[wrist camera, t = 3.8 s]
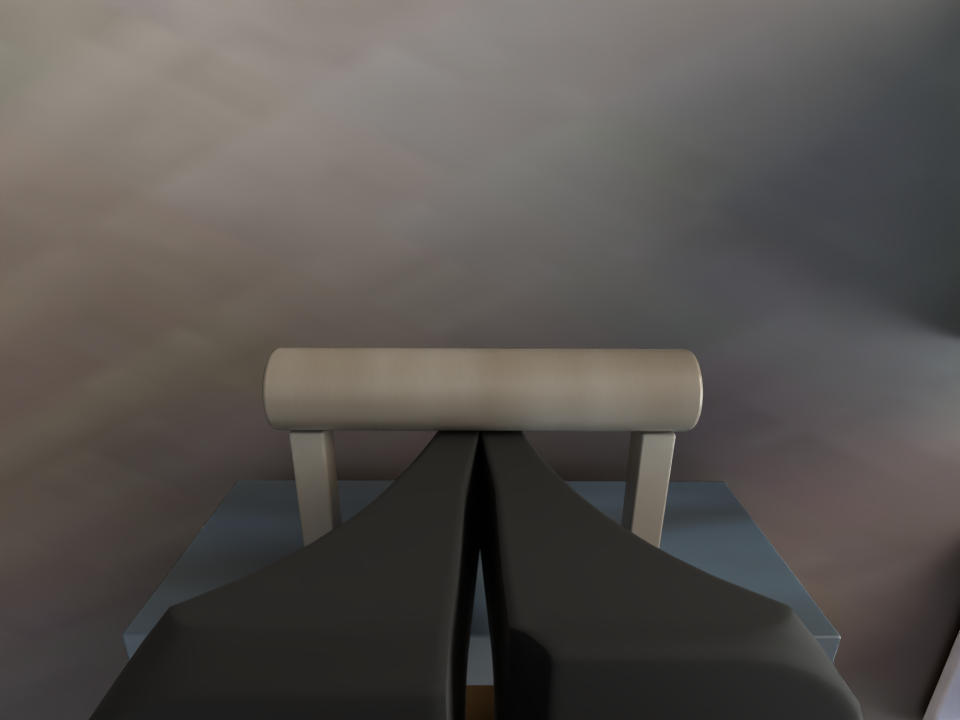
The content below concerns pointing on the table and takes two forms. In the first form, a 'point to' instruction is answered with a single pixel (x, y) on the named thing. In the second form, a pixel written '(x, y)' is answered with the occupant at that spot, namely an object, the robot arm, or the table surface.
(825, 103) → the table surface
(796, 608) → the drawer
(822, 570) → the table surface
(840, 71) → the table surface
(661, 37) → the table surface
